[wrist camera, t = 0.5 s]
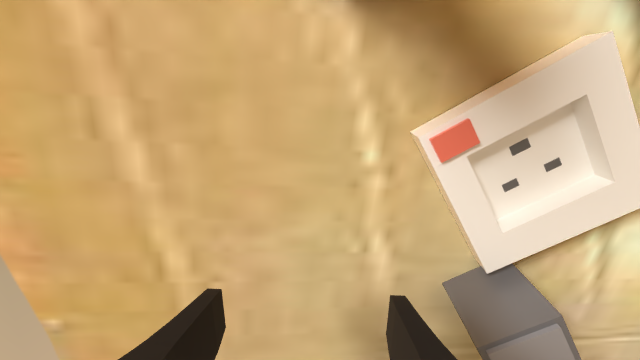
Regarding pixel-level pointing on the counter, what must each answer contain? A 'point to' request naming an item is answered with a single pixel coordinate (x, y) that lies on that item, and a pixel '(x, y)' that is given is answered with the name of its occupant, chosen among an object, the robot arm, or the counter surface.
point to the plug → (509, 316)
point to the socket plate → (539, 153)
